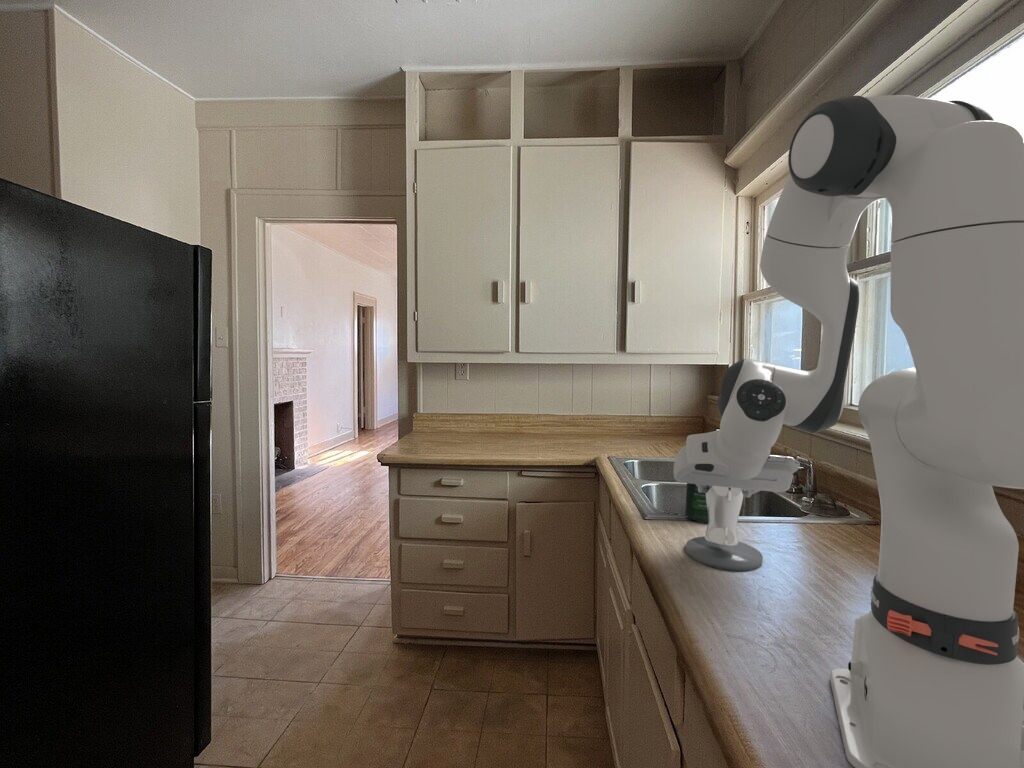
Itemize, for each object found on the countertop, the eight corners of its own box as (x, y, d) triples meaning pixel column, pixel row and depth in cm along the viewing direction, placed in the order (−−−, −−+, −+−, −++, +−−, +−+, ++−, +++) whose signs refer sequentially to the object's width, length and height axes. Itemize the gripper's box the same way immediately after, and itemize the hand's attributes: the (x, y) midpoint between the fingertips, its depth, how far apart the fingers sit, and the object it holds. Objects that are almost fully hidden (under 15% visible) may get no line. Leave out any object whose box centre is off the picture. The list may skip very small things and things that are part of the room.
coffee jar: (719, 526, 112) (722, 447, 110) (683, 520, 115) (686, 444, 114) (721, 514, 120) (724, 440, 119) (688, 509, 124) (691, 437, 123)
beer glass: (744, 549, 91) (749, 470, 91) (704, 544, 93) (709, 466, 93) (736, 538, 98) (741, 465, 98) (700, 533, 99) (704, 461, 99)
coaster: (753, 578, 86) (753, 573, 86) (675, 556, 95) (675, 551, 95) (769, 553, 97) (769, 548, 97) (698, 535, 106) (698, 531, 106)
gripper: (799, 443, 85) (777, 483, 95) (678, 434, 90) (669, 473, 100) (807, 474, 81) (783, 512, 91) (679, 463, 86) (670, 500, 96)
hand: (723, 491), depth 96 cm, fingers closed on beer glass, 7 cm apart
